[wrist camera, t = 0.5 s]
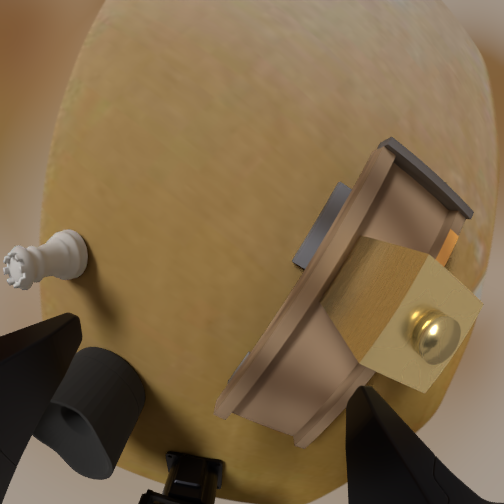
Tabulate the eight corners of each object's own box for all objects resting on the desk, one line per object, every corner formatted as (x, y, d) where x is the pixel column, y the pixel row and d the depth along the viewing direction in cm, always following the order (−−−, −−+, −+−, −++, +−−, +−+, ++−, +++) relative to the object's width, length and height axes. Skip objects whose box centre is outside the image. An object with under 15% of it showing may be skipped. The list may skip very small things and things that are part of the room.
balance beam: (301, 412, 24) (309, 454, 18) (217, 375, 23) (207, 417, 17) (434, 212, 21) (476, 215, 15) (356, 150, 20) (386, 132, 14)
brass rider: (370, 330, 18) (434, 404, 9) (319, 301, 18) (367, 376, 9) (408, 270, 17) (496, 310, 8) (360, 235, 17) (443, 258, 8)
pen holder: (133, 340, 23) (77, 403, 13) (162, 418, 24) (131, 488, 14) (61, 340, 23) (2, 385, 13) (91, 411, 25) (51, 465, 15)
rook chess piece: (98, 257, 22) (39, 277, 14) (73, 286, 22) (17, 313, 14) (73, 218, 21) (10, 224, 13) (49, 249, 22) (-10, 264, 14)
